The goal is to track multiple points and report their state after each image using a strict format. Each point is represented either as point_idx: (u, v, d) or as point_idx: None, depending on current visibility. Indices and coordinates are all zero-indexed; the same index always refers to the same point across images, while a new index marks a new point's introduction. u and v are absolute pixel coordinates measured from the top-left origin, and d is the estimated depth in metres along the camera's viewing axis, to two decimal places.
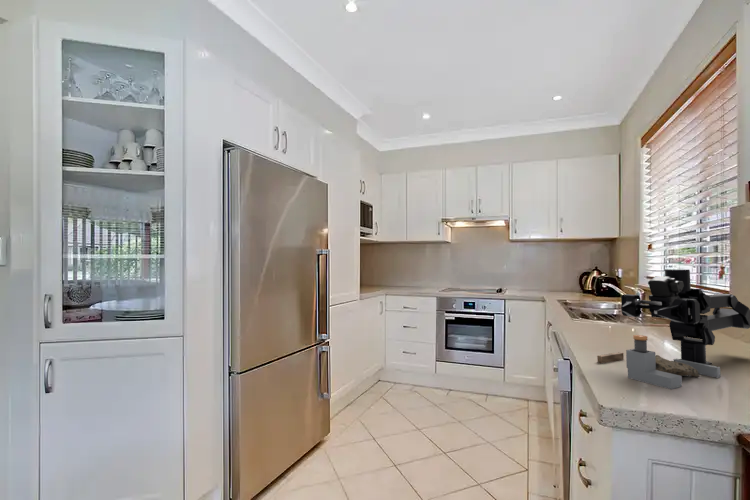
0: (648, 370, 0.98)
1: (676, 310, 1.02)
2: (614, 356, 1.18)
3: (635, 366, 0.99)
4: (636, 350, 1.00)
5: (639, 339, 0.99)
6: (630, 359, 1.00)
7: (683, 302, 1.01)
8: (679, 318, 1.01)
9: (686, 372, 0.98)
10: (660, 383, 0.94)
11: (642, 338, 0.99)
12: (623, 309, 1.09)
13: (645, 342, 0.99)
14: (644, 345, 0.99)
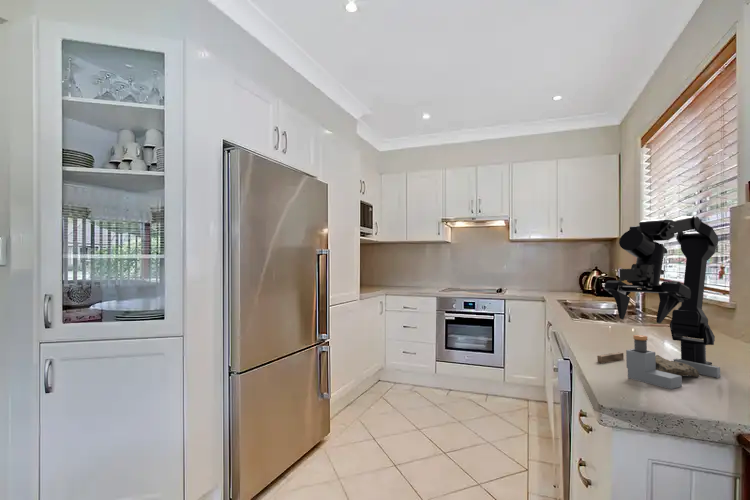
0: (648, 370, 0.98)
1: None
2: (614, 356, 1.18)
3: (635, 366, 0.99)
4: (636, 350, 1.00)
5: (639, 339, 0.99)
6: (630, 359, 1.00)
7: (669, 295, 0.95)
8: (674, 303, 0.97)
9: (686, 372, 0.98)
10: (660, 383, 0.94)
11: (642, 338, 0.99)
12: (622, 317, 1.05)
13: (645, 342, 0.99)
14: (644, 345, 0.99)
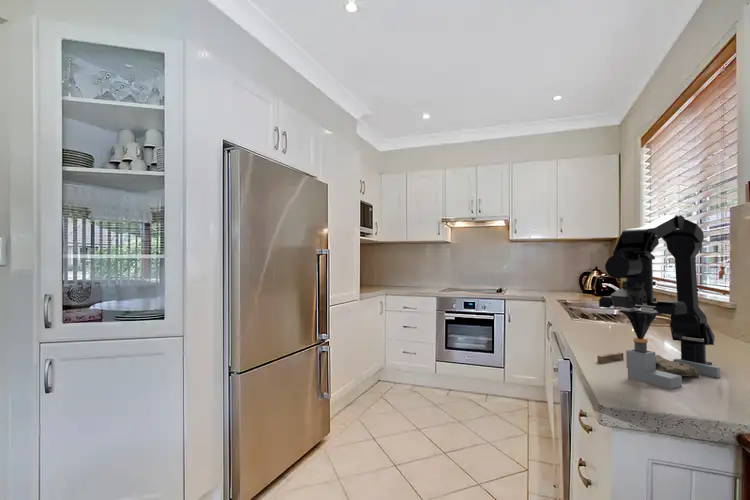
0: (648, 370, 0.98)
1: None
2: (614, 356, 1.18)
3: (635, 366, 0.99)
4: None
5: (639, 342, 0.99)
6: (630, 359, 1.00)
7: (646, 315, 0.97)
8: (652, 316, 0.99)
9: (687, 372, 0.98)
10: (660, 383, 0.94)
11: (642, 341, 0.99)
12: None
13: (645, 345, 0.99)
14: (644, 348, 0.99)
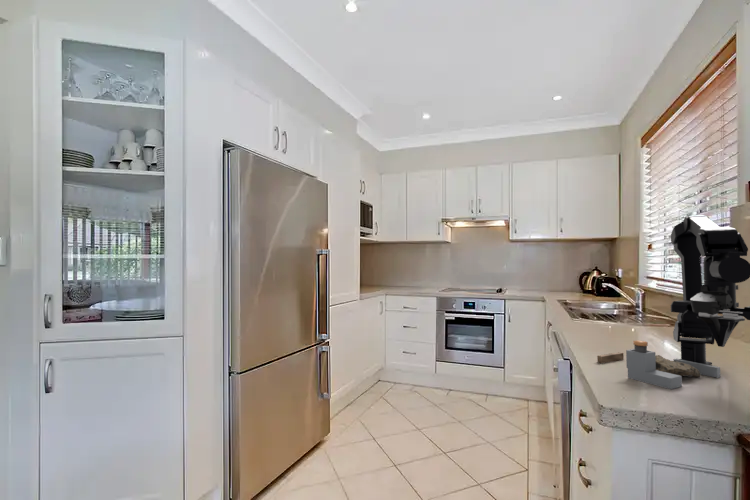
0: (648, 370, 0.98)
1: None
2: (614, 356, 1.18)
3: (635, 366, 0.99)
4: None
5: (639, 345, 0.99)
6: (630, 359, 1.00)
7: (730, 321, 0.90)
8: (735, 322, 0.93)
9: (688, 372, 0.98)
10: (660, 383, 0.94)
11: (642, 344, 0.99)
12: None
13: (645, 348, 0.99)
14: (644, 351, 0.99)
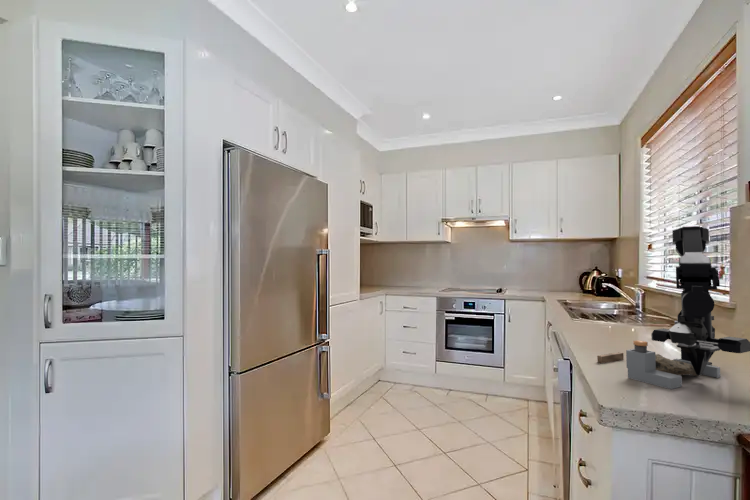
0: (648, 370, 0.98)
1: None
2: (614, 356, 1.18)
3: (635, 366, 0.99)
4: None
5: (639, 345, 0.99)
6: (630, 359, 1.00)
7: (706, 351, 0.94)
8: (711, 351, 0.97)
9: (688, 371, 0.98)
10: (660, 383, 0.94)
11: (642, 344, 0.99)
12: None
13: (645, 348, 0.99)
14: (644, 351, 0.99)
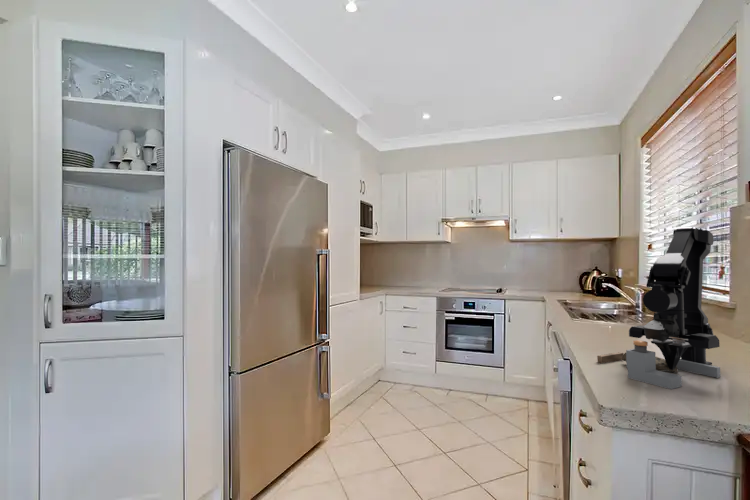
0: (648, 370, 0.98)
1: None
2: (614, 356, 1.18)
3: (635, 366, 0.99)
4: None
5: (639, 345, 0.99)
6: (630, 359, 1.00)
7: (678, 347, 1.00)
8: (684, 347, 1.02)
9: (659, 366, 1.04)
10: (660, 383, 0.94)
11: (642, 344, 0.99)
12: None
13: (645, 348, 0.99)
14: (644, 351, 0.99)
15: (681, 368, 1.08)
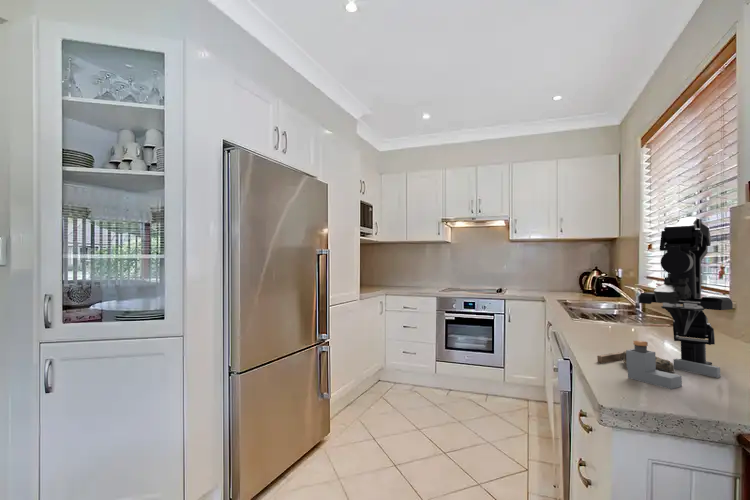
0: (648, 370, 0.98)
1: None
2: (614, 356, 1.18)
3: (635, 366, 0.99)
4: None
5: (639, 345, 0.99)
6: (630, 359, 1.00)
7: (690, 311, 0.97)
8: (695, 312, 1.00)
9: None
10: (660, 383, 0.94)
11: (642, 344, 0.99)
12: None
13: (645, 348, 0.99)
14: (644, 351, 0.99)
15: (681, 368, 1.08)
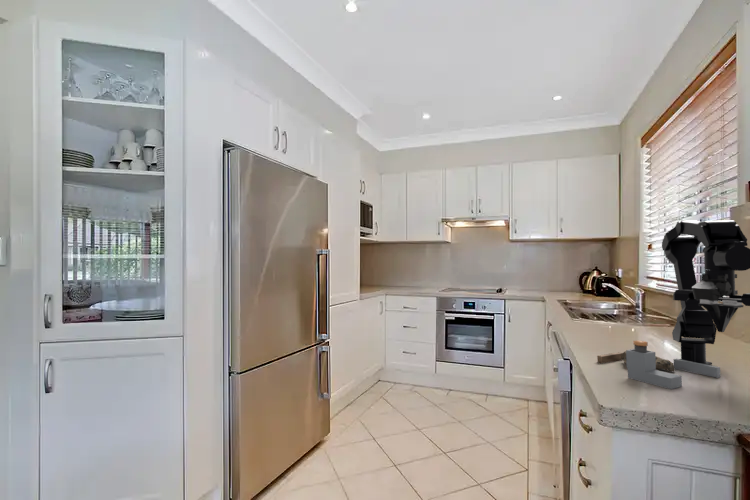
0: (648, 370, 0.98)
1: None
2: (614, 356, 1.18)
3: (635, 366, 0.99)
4: None
5: (639, 345, 0.99)
6: (630, 359, 1.00)
7: (729, 307, 0.96)
8: (734, 309, 0.98)
9: None
10: (660, 383, 0.94)
11: (642, 344, 0.99)
12: None
13: (645, 348, 0.99)
14: (644, 351, 0.99)
15: (681, 368, 1.08)
